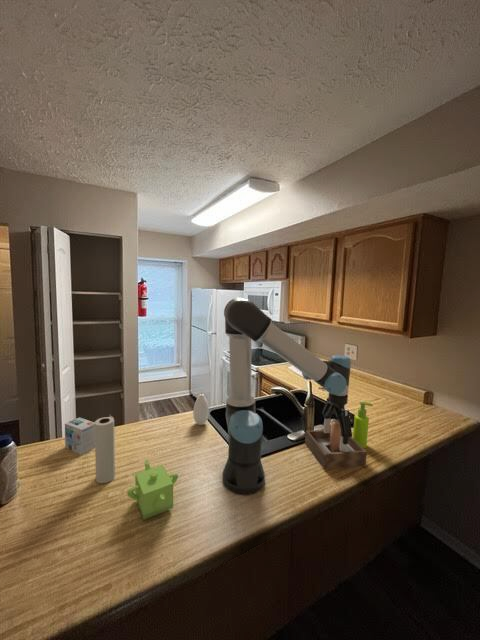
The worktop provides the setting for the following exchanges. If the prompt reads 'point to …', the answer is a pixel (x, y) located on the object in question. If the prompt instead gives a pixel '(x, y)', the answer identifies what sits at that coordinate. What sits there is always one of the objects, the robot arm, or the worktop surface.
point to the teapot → (153, 490)
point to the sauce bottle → (201, 410)
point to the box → (320, 449)
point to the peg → (335, 436)
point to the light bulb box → (80, 435)
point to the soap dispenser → (361, 425)
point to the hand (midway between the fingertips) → (334, 441)
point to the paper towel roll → (104, 449)
